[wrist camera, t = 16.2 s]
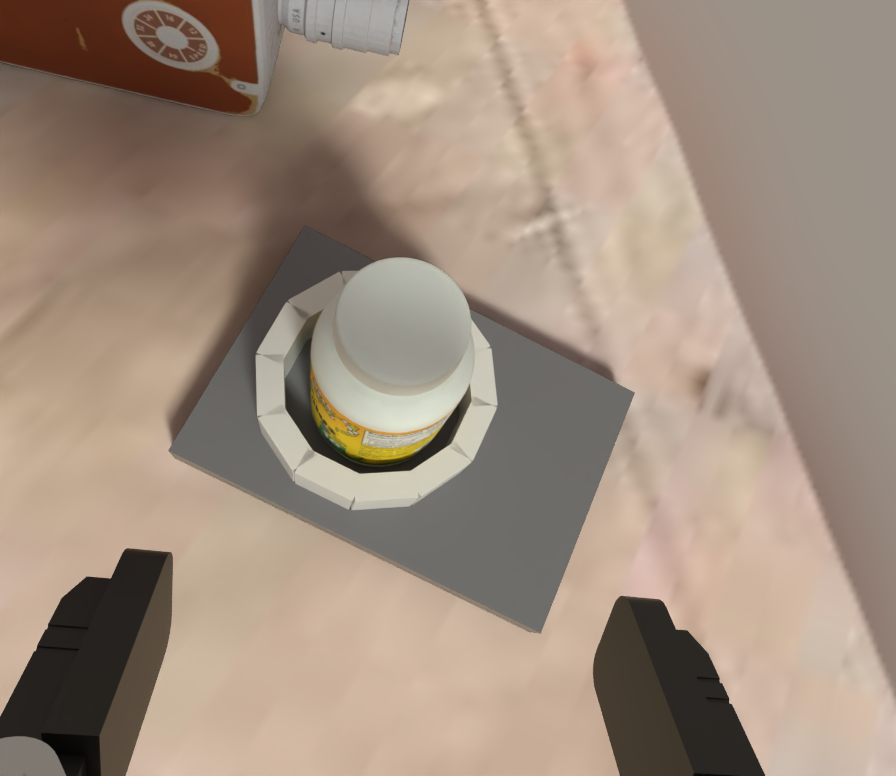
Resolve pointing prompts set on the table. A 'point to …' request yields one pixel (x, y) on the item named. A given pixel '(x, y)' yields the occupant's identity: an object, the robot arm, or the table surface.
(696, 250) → the table surface
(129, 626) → the robot arm
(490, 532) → the mount plate
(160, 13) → the cine camera
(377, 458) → the supplement bottle
